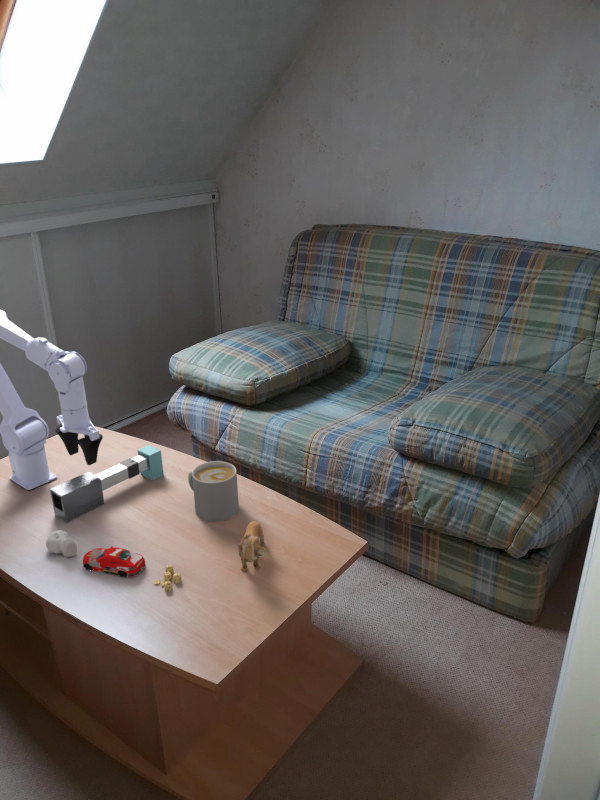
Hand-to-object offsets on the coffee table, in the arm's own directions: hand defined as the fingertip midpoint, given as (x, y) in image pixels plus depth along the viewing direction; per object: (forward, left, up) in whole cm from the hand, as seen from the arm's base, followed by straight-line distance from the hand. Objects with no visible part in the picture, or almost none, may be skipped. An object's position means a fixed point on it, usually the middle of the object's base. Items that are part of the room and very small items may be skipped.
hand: (82, 458), depth 156 cm
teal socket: (+5, +15, -9) cm, 19 cm away
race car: (+29, -13, -10) cm, 33 cm away
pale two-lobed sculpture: (+16, -17, -10) cm, 25 cm away
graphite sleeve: (+5, -5, -9) cm, 12 cm away
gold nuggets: (+41, -9, -10) cm, 43 cm away
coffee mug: (+28, +15, -10) cm, 33 cm away
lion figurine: (+49, +7, -10) cm, 51 cm away
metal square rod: (+5, +5, -7) cm, 10 cm away
